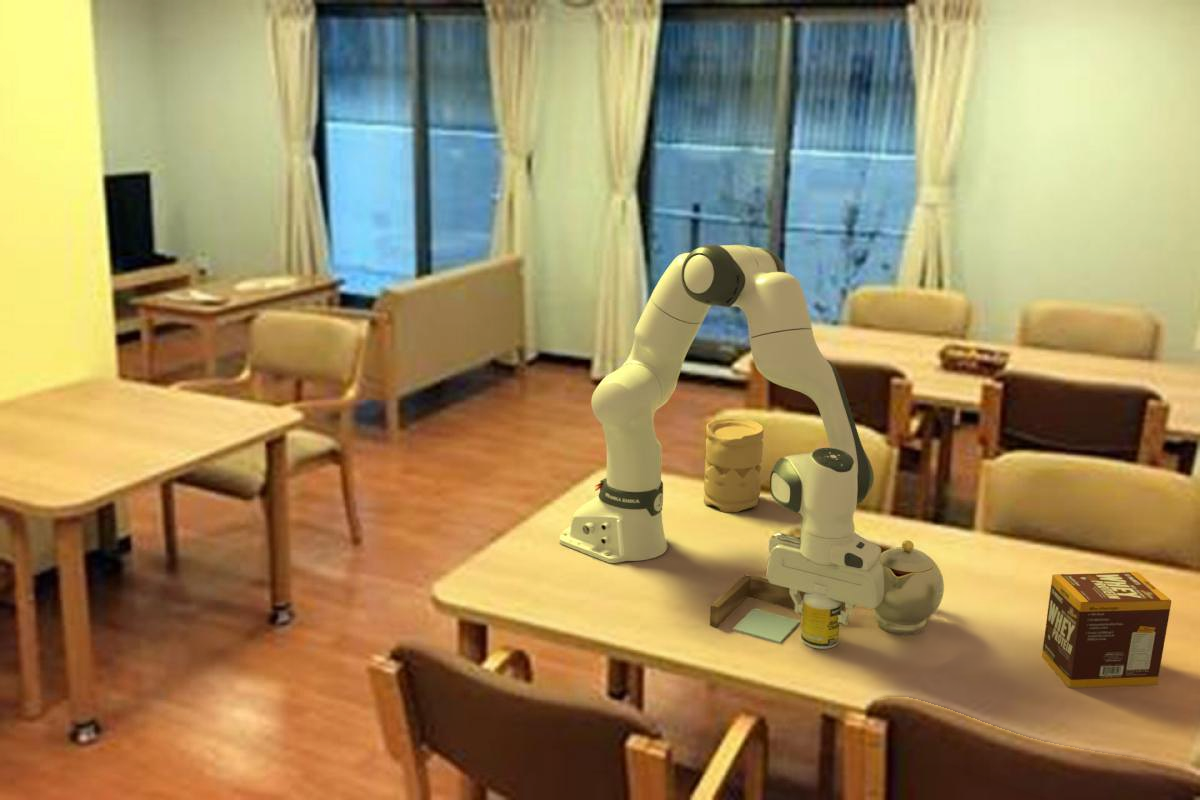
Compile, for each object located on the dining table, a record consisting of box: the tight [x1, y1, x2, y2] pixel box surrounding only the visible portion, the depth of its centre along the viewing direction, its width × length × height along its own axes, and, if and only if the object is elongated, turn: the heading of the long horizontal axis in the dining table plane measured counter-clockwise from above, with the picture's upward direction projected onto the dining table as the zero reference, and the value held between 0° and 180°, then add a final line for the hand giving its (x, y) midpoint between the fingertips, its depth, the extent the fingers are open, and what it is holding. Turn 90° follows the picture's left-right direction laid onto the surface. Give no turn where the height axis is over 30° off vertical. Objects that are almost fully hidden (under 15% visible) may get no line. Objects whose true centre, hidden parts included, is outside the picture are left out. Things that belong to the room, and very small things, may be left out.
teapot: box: [873, 539, 945, 635], centre depth 211 cm, size 18×14×16 cm
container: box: [703, 417, 765, 514], centre depth 263 cm, size 13×13×18 cm
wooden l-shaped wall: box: [709, 574, 847, 629], centre depth 212 cm, size 20×15×4 cm
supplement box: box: [1041, 571, 1172, 689], centre depth 195 cm, size 10×15×16 cm
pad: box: [732, 608, 800, 645], centre depth 210 cm, size 9×9×1 cm
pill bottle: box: [800, 583, 842, 650], centre depth 204 cm, size 6×6×12 cm
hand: (821, 617), depth 204 cm, fingers closed on pill bottle, 6 cm apart
